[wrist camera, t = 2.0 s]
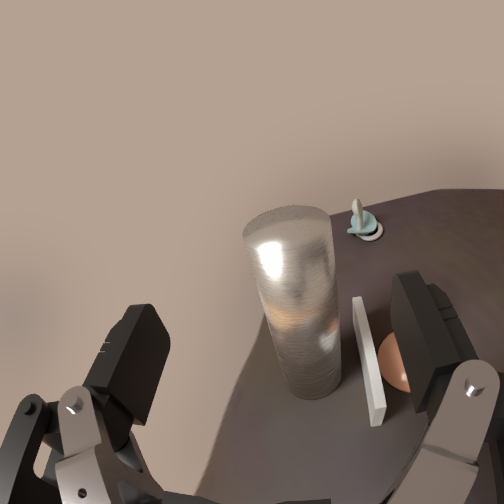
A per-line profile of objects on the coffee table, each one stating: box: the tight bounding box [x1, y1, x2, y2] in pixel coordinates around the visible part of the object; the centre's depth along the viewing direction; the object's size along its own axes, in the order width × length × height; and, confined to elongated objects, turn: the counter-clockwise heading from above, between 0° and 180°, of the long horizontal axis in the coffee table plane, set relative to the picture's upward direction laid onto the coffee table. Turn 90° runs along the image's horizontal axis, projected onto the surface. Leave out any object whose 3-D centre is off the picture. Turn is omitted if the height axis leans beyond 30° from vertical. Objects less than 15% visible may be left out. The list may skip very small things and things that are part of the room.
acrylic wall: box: [353, 296, 387, 427], centre depth 28 cm, size 14×1×4 cm, turn 175°
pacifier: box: [347, 199, 383, 241], centre depth 49 cm, size 7×6×6 cm
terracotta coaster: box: [377, 332, 411, 393], centre depth 28 cm, size 9×9×1 cm
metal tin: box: [243, 205, 341, 400], centre depth 25 cm, size 6×6×18 cm
